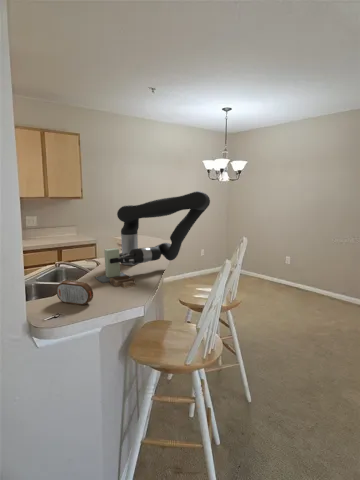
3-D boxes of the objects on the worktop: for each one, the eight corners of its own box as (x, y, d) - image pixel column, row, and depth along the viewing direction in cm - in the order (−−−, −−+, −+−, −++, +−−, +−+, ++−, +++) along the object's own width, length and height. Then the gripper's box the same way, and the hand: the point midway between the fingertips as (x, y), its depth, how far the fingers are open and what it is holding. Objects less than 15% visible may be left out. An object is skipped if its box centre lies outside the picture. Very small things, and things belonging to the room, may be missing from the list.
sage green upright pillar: (105, 276, 152) (104, 249, 150) (117, 274, 155) (116, 248, 153) (108, 277, 149) (107, 250, 147) (120, 275, 152) (119, 249, 150)
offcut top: (121, 285, 140) (121, 282, 140) (132, 282, 143) (132, 280, 143) (124, 286, 138) (124, 284, 138) (135, 284, 141) (135, 282, 140)
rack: (109, 282, 145) (109, 278, 145) (127, 279, 150) (127, 275, 150) (116, 286, 139) (115, 281, 139) (134, 282, 144) (134, 278, 144)
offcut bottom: (120, 287, 140) (120, 285, 140) (133, 284, 144) (132, 282, 143) (124, 289, 137) (124, 287, 137) (136, 286, 141) (136, 284, 140)
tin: (94, 304, 118) (93, 282, 117) (89, 307, 115) (88, 284, 114) (61, 299, 123) (59, 279, 122) (55, 302, 120) (54, 281, 119)
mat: (95, 278, 153) (95, 277, 152) (122, 273, 160) (122, 272, 160) (102, 283, 144) (102, 281, 144) (130, 278, 152) (130, 276, 152)
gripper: (134, 246, 165) (102, 250, 155) (147, 250, 153) (113, 255, 143) (134, 260, 166) (103, 265, 156) (147, 265, 154) (114, 271, 145)
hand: (108, 260), depth 150 cm, fingers closed on sage green upright pillar, 3 cm apart
